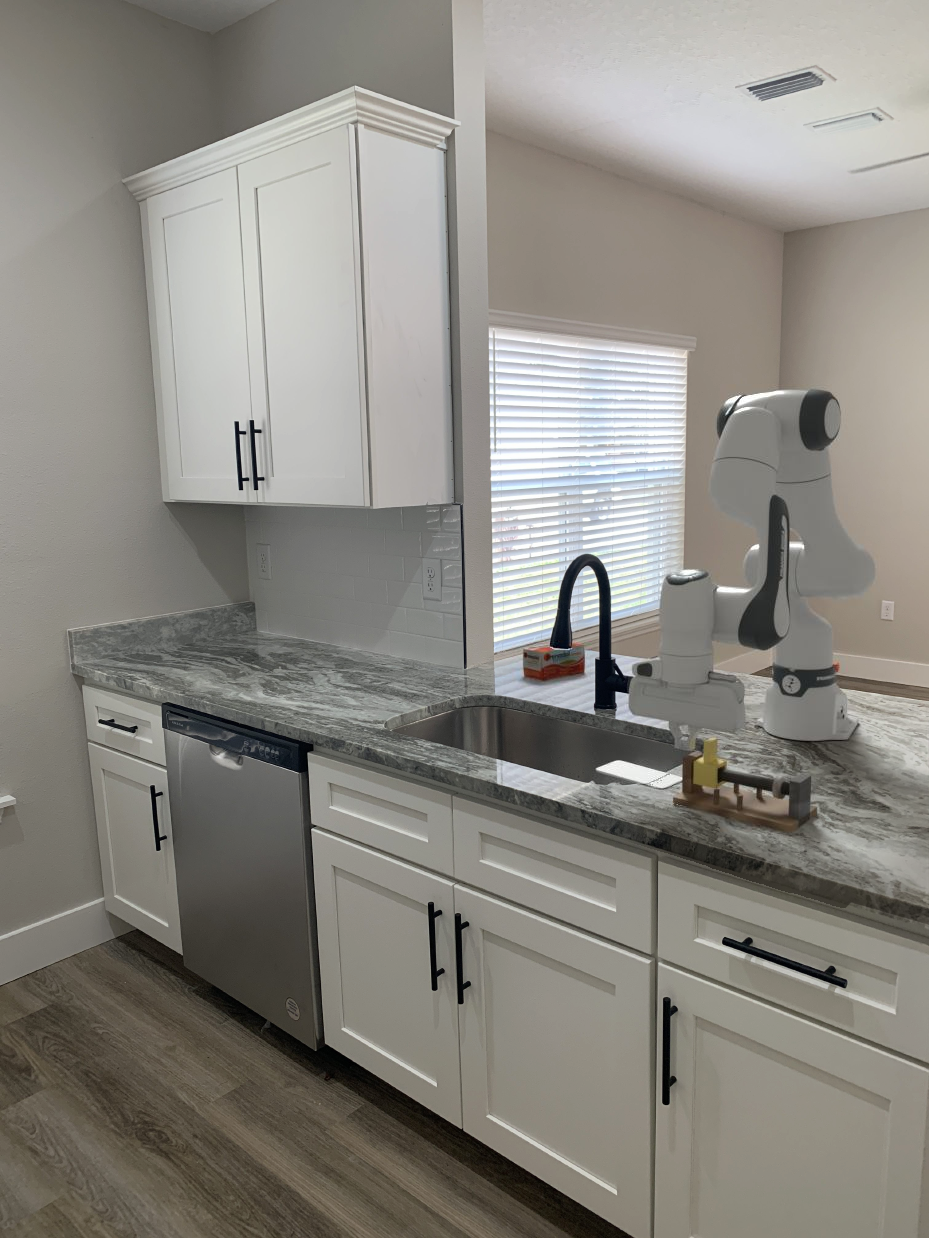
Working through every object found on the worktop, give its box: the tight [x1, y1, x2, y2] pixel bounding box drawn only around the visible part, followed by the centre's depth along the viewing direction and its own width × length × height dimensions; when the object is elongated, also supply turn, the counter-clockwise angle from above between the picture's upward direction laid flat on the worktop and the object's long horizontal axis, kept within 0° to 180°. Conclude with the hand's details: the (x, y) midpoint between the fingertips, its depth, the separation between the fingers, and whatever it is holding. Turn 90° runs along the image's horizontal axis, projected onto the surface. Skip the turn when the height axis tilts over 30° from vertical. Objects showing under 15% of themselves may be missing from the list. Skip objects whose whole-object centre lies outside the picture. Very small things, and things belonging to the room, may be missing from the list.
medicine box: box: [522, 642, 586, 682], centre depth 249 cm, size 15×8×8 cm, turn 126°
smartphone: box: [595, 760, 682, 790], centre depth 170 cm, size 7×1×15 cm
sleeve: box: [693, 737, 728, 789], centre depth 155 cm, size 4×4×7 cm
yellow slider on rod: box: [672, 751, 818, 834], centre depth 152 cm, size 20×10×7 cm, turn 48°
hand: (684, 748), depth 158 cm, fingers closed
